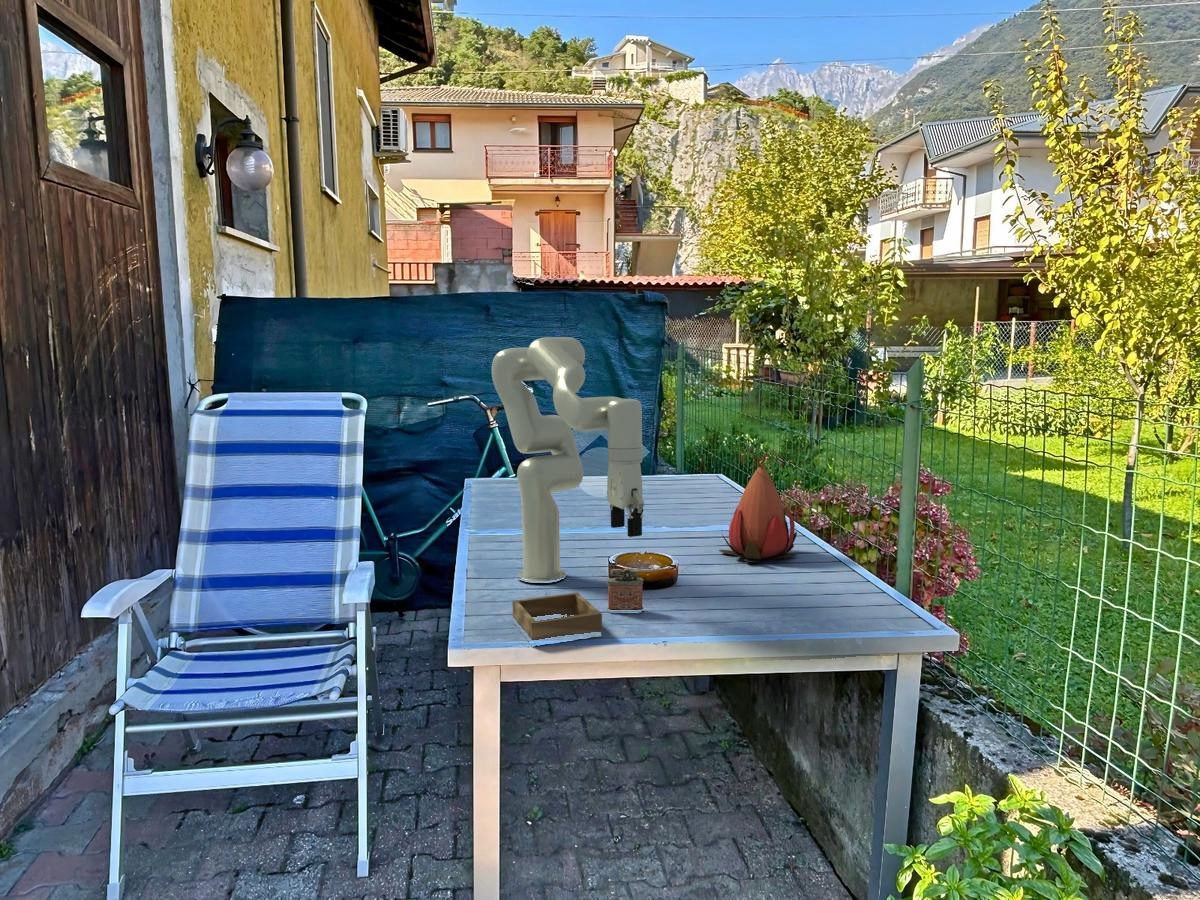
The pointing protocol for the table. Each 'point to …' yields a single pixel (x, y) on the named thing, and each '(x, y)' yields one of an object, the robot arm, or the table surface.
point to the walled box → (569, 604)
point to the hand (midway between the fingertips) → (626, 531)
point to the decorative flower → (761, 521)
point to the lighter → (625, 590)
